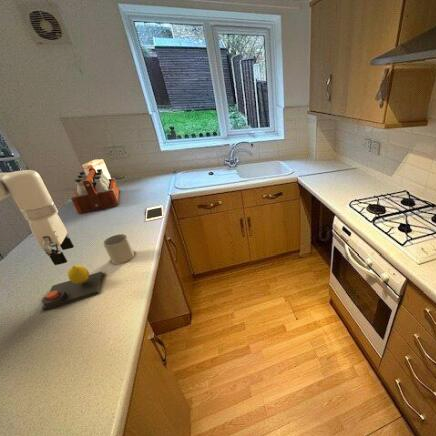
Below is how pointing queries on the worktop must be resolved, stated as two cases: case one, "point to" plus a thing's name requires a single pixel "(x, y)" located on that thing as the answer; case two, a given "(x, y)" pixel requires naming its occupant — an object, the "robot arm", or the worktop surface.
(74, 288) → the scale
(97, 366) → the worktop surface
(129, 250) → the cup
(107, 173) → the coffeecake box
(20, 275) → the worktop surface
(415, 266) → the worktop surface
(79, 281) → the lemon
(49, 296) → the tare button
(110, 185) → the milk bottle holder
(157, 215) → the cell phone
